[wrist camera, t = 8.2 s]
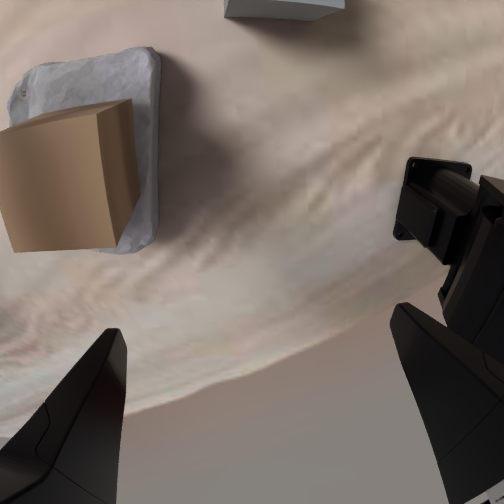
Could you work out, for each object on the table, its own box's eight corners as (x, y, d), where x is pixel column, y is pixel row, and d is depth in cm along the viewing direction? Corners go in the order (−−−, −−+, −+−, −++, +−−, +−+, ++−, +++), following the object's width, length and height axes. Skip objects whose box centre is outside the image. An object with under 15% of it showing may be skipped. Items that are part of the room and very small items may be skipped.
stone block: (54, 221, 21) (173, 232, 21) (17, 251, 17) (148, 271, 17) (43, 65, 15) (177, 46, 15) (-5, 69, 11) (144, 36, 11)
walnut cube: (132, 98, 13) (96, 114, 9) (140, 195, 16) (116, 247, 11) (41, 114, 12) (-16, 139, 8) (56, 203, 15) (14, 252, 11)
